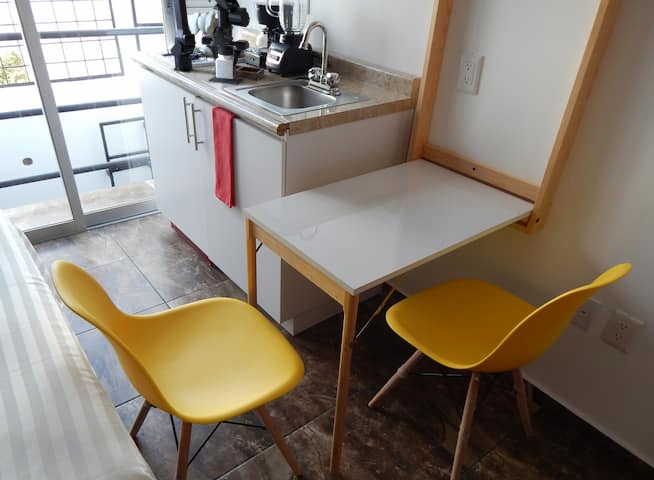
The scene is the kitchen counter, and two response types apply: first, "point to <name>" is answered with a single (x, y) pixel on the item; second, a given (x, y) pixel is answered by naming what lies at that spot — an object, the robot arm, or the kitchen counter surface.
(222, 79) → the mat
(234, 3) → the robot arm
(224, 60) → the medicine bottle
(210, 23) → the plush elephant
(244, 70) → the holder
